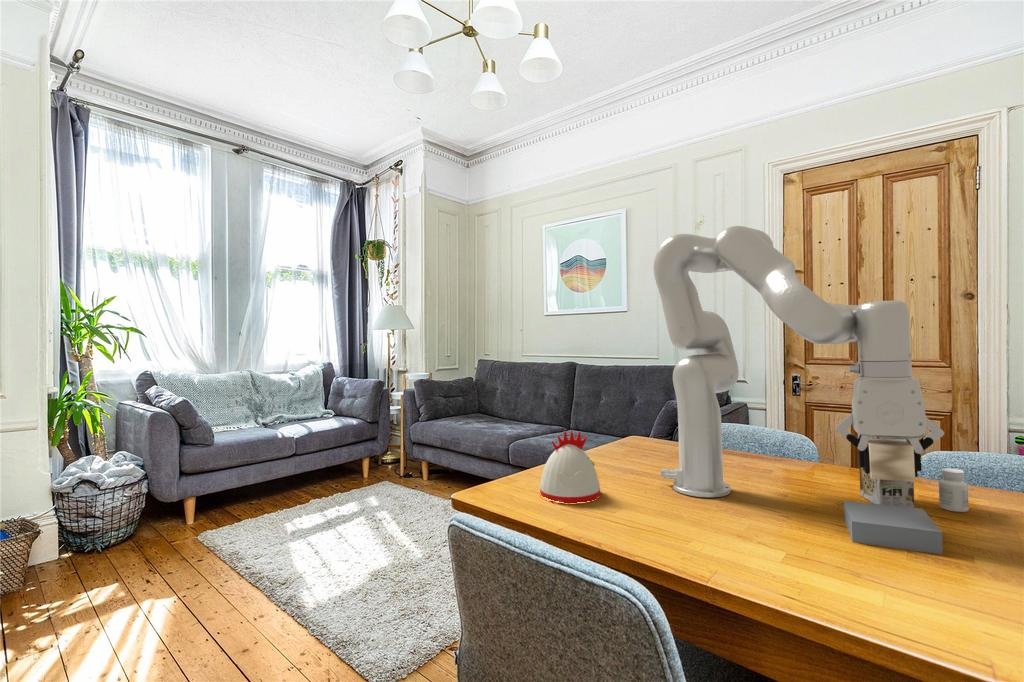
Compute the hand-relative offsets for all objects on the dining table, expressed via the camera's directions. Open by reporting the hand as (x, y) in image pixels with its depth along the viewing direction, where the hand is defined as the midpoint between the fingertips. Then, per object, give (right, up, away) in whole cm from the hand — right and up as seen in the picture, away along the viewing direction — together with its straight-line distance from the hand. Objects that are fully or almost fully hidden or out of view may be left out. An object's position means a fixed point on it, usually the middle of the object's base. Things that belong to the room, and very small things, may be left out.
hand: (889, 472), depth 87 cm
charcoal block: (0, -12, 0) cm, 12 cm away
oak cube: (0, -1, 0) cm, 1 cm away
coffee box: (+13, -11, +17) cm, 24 cm away
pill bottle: (+22, -11, +12) cm, 28 cm away
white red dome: (-53, -13, +28) cm, 61 cm away
